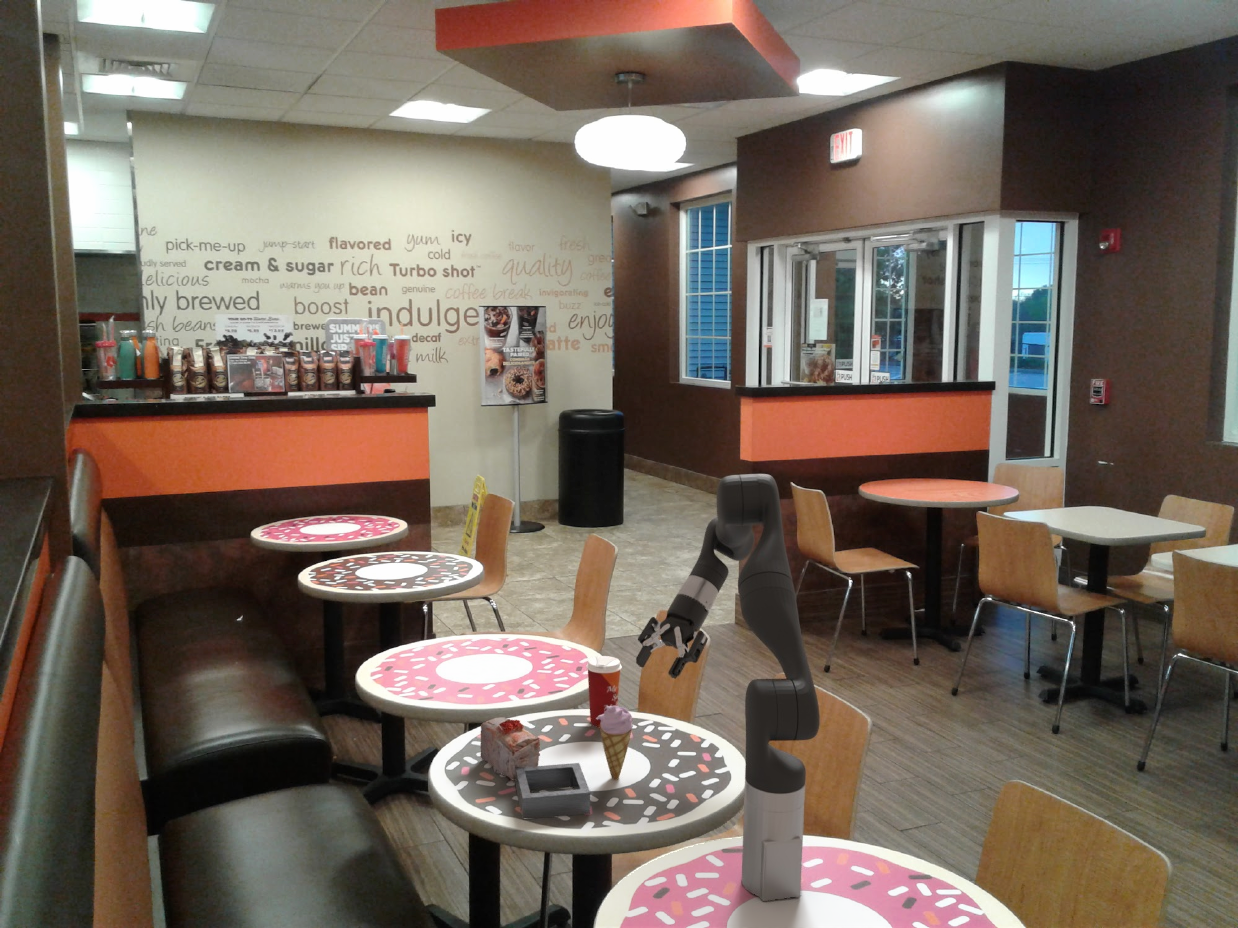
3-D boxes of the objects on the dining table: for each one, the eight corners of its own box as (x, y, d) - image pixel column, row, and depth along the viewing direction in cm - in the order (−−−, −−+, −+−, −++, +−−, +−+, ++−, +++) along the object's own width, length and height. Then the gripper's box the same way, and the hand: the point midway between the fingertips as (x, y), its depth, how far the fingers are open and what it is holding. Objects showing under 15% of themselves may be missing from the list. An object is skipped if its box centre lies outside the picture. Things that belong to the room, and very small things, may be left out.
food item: (546, 775, 192) (546, 727, 191) (511, 787, 187) (510, 738, 186) (507, 751, 202) (507, 705, 201) (473, 762, 198) (473, 714, 196)
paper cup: (617, 731, 213) (617, 668, 211) (582, 727, 214) (582, 665, 212) (624, 716, 220) (625, 656, 218) (590, 713, 222) (590, 653, 220)
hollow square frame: (590, 813, 178) (590, 792, 177) (522, 819, 175) (522, 798, 175) (578, 782, 189) (579, 762, 189) (515, 787, 187) (515, 767, 186)
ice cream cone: (591, 780, 190) (592, 705, 188) (604, 767, 196) (605, 694, 193) (623, 787, 187) (624, 711, 185) (636, 773, 193) (637, 699, 191)
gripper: (658, 586, 206) (619, 652, 200) (713, 600, 197) (674, 670, 190) (674, 605, 211) (637, 671, 204) (728, 620, 201) (691, 689, 195)
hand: (655, 670), depth 197 cm, fingers open, 8 cm apart
